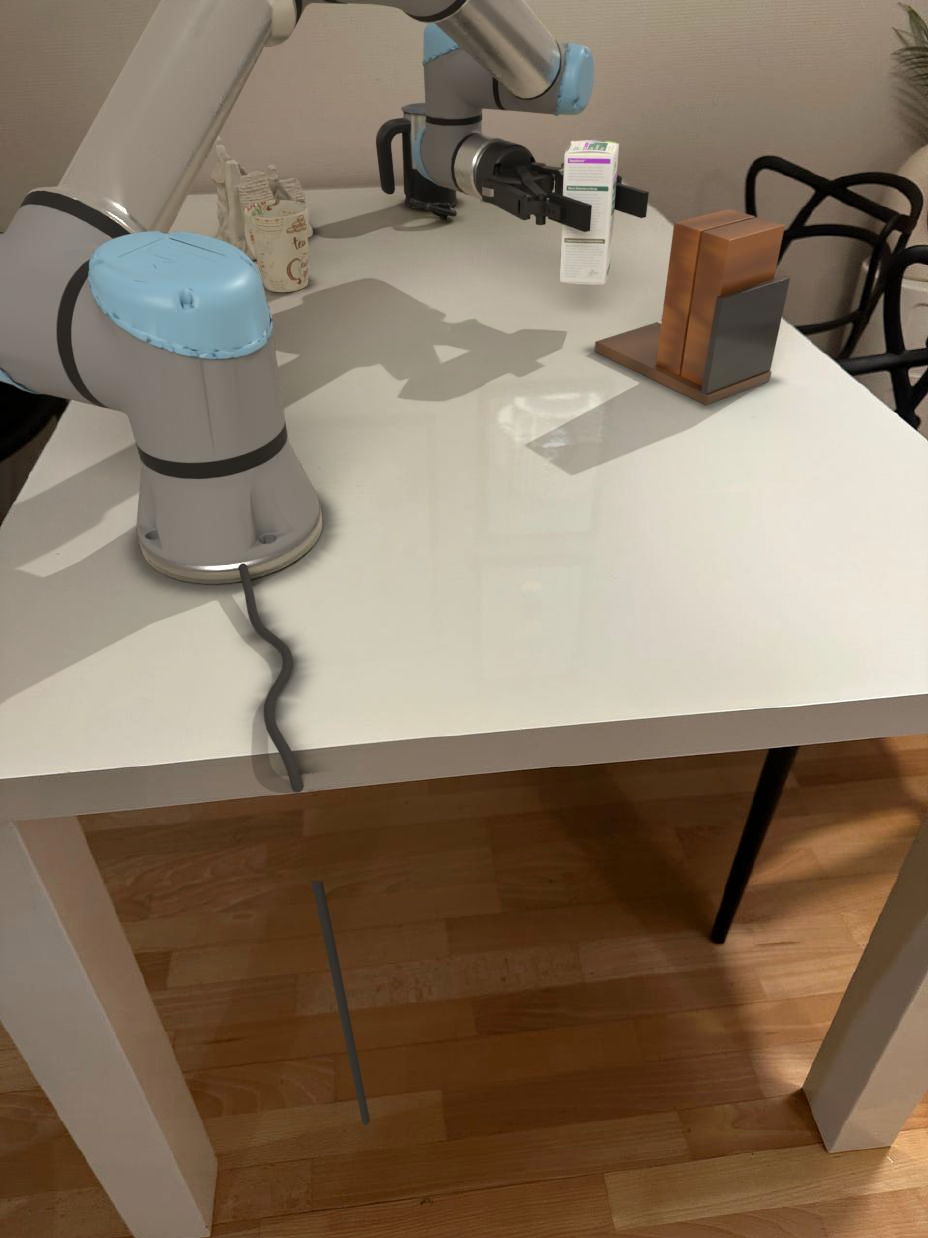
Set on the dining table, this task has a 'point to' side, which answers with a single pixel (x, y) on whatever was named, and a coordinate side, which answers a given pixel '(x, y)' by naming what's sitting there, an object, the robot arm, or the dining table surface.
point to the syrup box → (594, 184)
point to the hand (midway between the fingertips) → (617, 211)
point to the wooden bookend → (712, 309)
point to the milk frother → (411, 165)
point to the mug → (279, 243)
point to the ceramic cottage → (246, 195)
